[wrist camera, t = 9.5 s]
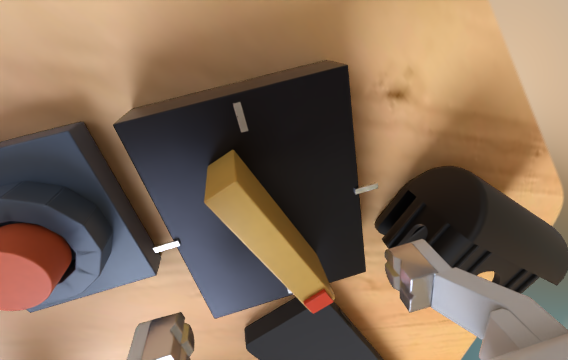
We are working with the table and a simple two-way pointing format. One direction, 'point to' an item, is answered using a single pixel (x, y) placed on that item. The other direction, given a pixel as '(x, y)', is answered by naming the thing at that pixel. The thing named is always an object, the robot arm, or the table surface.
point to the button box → (75, 210)
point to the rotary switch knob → (266, 230)
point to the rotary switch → (265, 167)
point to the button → (30, 264)
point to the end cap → (475, 228)
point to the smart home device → (307, 335)
